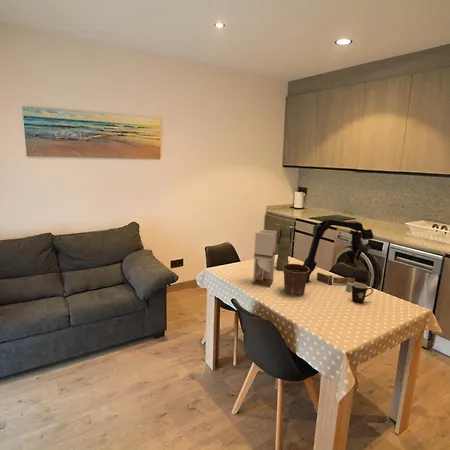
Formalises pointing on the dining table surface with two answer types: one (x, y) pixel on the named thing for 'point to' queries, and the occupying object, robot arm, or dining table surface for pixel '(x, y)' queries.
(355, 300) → the coffee mug
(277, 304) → the dining table surface
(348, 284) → the latch stile
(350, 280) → the gate
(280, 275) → the dining table surface
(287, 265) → the plant pot
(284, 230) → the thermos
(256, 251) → the grey dispenser tower
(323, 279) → the hinge post
